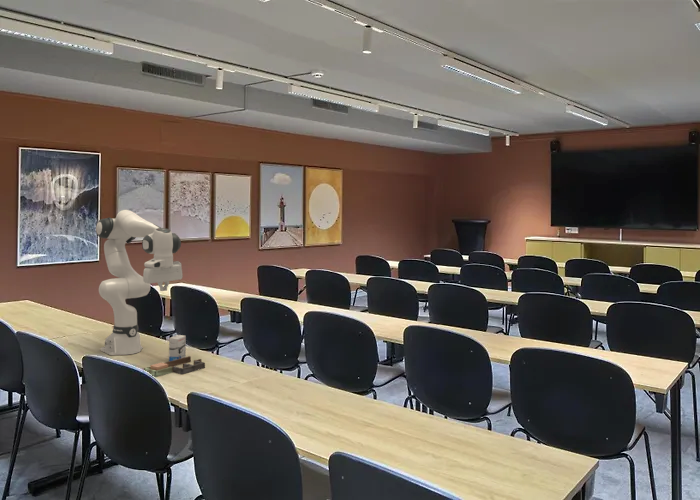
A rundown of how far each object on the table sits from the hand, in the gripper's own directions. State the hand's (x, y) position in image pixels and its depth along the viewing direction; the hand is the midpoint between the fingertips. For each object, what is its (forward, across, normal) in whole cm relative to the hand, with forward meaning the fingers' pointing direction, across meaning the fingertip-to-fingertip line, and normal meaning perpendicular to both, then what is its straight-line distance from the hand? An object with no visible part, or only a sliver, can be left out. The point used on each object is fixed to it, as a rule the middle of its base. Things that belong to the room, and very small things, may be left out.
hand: (163, 290), depth 279 cm
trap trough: (+35, +3, +14) cm, 38 cm away
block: (+36, +11, +12) cm, 39 cm away
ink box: (+36, -8, 0) cm, 37 cm away
